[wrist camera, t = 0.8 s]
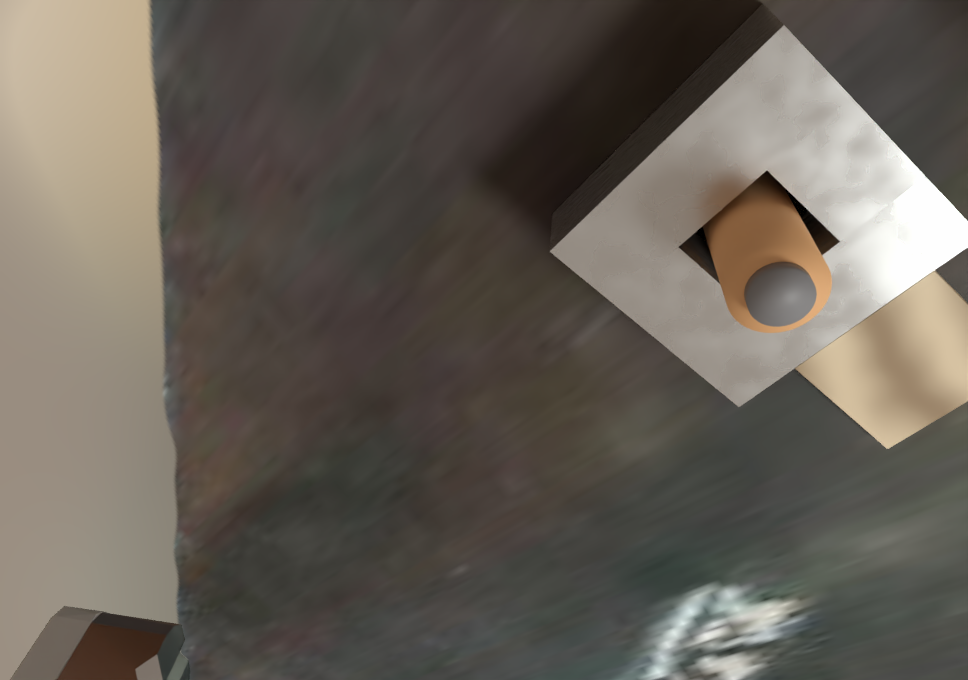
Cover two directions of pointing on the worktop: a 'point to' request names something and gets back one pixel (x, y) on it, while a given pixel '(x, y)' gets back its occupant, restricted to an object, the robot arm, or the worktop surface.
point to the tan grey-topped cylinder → (767, 260)
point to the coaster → (899, 362)
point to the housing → (730, 170)
